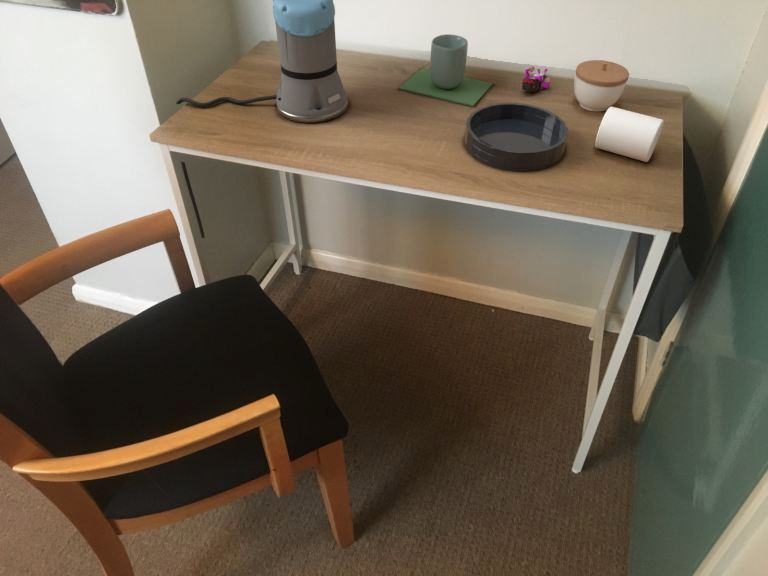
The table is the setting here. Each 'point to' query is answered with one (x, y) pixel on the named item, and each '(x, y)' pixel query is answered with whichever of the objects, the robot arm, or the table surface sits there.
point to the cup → (448, 60)
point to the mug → (629, 133)
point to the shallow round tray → (515, 136)
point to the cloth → (462, 94)
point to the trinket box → (599, 84)
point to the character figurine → (534, 80)
